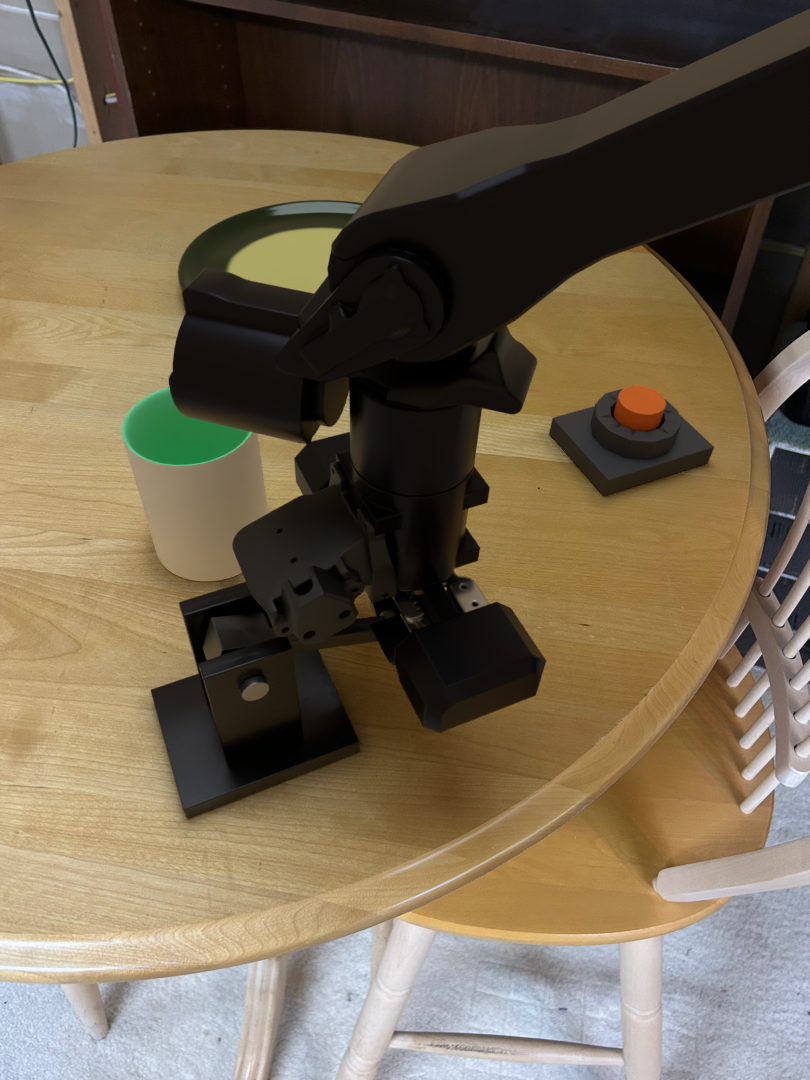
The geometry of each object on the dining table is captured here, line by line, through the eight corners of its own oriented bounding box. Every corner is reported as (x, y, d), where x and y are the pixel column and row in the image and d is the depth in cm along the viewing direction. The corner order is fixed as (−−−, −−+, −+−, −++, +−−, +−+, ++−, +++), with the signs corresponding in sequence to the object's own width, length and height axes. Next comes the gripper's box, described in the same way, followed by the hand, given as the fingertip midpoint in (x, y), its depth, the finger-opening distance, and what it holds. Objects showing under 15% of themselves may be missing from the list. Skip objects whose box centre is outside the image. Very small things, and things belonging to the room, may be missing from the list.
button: (669, 425, 62) (675, 407, 61) (631, 436, 61) (636, 418, 60) (642, 399, 64) (647, 381, 63) (604, 409, 63) (609, 391, 62)
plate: (482, 360, 73) (485, 336, 71) (168, 370, 70) (162, 345, 68) (441, 217, 92) (443, 196, 90) (193, 221, 89) (189, 199, 87)
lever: (408, 620, 49) (426, 583, 47) (431, 661, 47) (450, 624, 45) (198, 645, 42) (209, 604, 40) (214, 694, 40) (226, 652, 38)
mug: (147, 473, 61) (116, 358, 54) (253, 456, 63) (237, 342, 55) (159, 591, 53) (124, 476, 46) (280, 568, 55) (265, 453, 48)
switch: (312, 646, 51) (303, 541, 44) (360, 752, 46) (358, 653, 39) (154, 700, 48) (116, 597, 41) (186, 819, 43) (150, 726, 36)
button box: (708, 463, 64) (722, 429, 62) (603, 496, 61) (613, 461, 59) (648, 405, 69) (659, 371, 66) (548, 433, 66) (556, 399, 63)
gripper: (186, 378, 40) (225, 580, 51) (316, 670, 28) (328, 846, 40) (392, 333, 43) (385, 532, 55) (580, 578, 32) (522, 765, 43)
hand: (400, 651), depth 48 cm, fingers closed on lever, 3 cm apart
